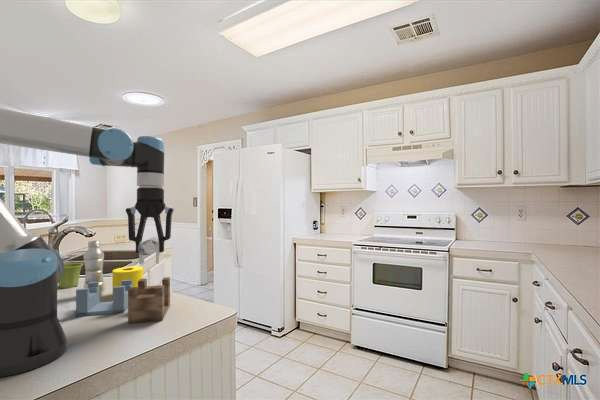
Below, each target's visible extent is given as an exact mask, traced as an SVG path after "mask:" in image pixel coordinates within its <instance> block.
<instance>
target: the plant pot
mask: <svg viewBox="0 0 600 400" xmlns="http://www.w3.org/2000/svg"><path fill="white" fill-rule="evenodd" d="M83 266H84V263H82V262H74V263H72V262H71V263H64V272H63V275H62V278H61V279H60V281H59V282H58V287H59V288H60V289H61V288H62V289H69V288H74V287H77V286H79V281H80V275H81V270H82V269H83V268H82V267H83Z"/></svg>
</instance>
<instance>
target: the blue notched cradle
mask: <svg viewBox="0 0 600 400" xmlns="http://www.w3.org/2000/svg"><path fill="white" fill-rule="evenodd" d="M131 287H132V280H122V286H118V287H113V286H112V301H105V302H104V301H103V302H102V301H101V302H100V294H99V282H89V283H88V288H86V289H84V288H77V289H76V290H75V293H76V294H75V316H76V317H84V316H85V317H86V316H97V315H98V316H99V315H110V314H121V313H125V312H126V311H128V290H129V289H130V288H131Z"/></svg>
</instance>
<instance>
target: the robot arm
mask: <svg viewBox="0 0 600 400" xmlns="http://www.w3.org/2000/svg"><path fill="white" fill-rule="evenodd" d="M0 144H1V145H2V144H3V145H10V146H15V147H23V148H28V149H35V150H42V151H46V152H47V151H49V152H55V153H62V154H67V155H68V154H69V155H74V156H75V155H76V156H80V157H88V158H89V159H88V160H89V163H90V164H91V165H96V166H102V167H108V166H109V167H123V168H124V167H125V168H127V167H128V168H136V171H137V172H136V186H138V187H137V189H136V202H135V205H134V206H132V207H127V208H125V212H126V215H127V222H128V223H127V224H128V227H127V228H128V240H129V241H130V242H134V243H135V253H136V254H139V255H138V256H139V257H138V263H139V265H143V264H145V256H144V255H141V254H140V253H139V252H138V246H139V244H140V243H142V242H143V237H144V232H145V228H146V223H147V220H148V218H152V219H153V221H154V224H155V230H156V234H157V238H158V239H159V241H158V242H156V250H155V254H156V255H155V265H158V264H160V263H161V253H163V252H164V251H165V242H166V241H167V240H170V239H171V238H172V237H171V236H172V216H173V213H174V211H175V209H174V207H173V208H172V207H170V206H169V207H168V206H167V205H166V204H165V190H164V188H163V187H164V186H165V154H166V153H165V145H164V140H163V139H162V138H160V137H156V136H152V135H150V136H149V135H148V136H147V135H141V136H138V137H137V140H136V141H133V138H132V136H130V134H129V133H128V132H126V131H125V130H123V129H121V128H114V127H113V128H108V129H105V128H101V127H100V128H99V127H94V126H90V125H85V124H80V123H77V122H76V123H75V122H70V121H65V120H61V119H55V118H51V117H46V116H41V115H37V114H36V115H35V114H31V113H26V112H21V111H16V110H11V109H6V108H1V107H0ZM136 211H137V212H138V213H139V215H140V218H139V224H138V228H137V232H136V216H135V214H136ZM163 211H165V213H164V214H166V216H165V217H166V218H165V229H163V226H162V221H161V214H162V213H163ZM164 230H165V232H164ZM164 233H165V234H164ZM63 259H64V258H63V257H62V256H61V255H60V254H59V252H57V251H56V250H54V249H52V248H51V247H50V246H49V245H48V243H47V242H46V241H45V240H44V238H43V237H42V236H41V235H40V234H35V233H34V234H33V233H30V232H29V231H28V230H27V229H26V228H25V226H24V224H22V223H21V222H20V220H19V219H18V218H17V216H16V215H15V214H14V212H12V211H11V209H10V207H9V206H7V204H6V203H5V202H4V201H3V200H2V198H1V197H0V378H2V377H8V376H9V377H10V376H13V375H17V374H21V373H25V372H28V371H32V370H34V369H36V368H40V367H42V366H45V365H47V364H49V363H51V362H53V361H54V360H55V361H56V359H58V358H59V357H61V356H62V355H64V353H65V352H66V351H67V348H68V347H67V346H68V342H67V341H68V340H67V336H66V334H65V331H64V329H63V327H62V325H61V322H60V320H59V318H58V317H59V316H58V286H59V281H60V279H61V278H62V275H63V272H64V264H65V263H64V260H63Z"/></svg>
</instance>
